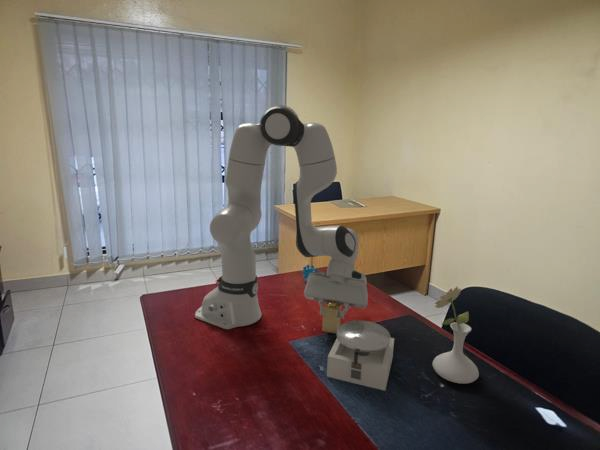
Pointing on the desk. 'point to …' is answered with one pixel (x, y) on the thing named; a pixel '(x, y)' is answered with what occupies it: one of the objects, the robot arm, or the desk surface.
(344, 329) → the scale pan
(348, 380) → the base
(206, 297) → the robot arm
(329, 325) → the brass weight
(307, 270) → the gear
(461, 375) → the flower in vase
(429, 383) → the desk surface
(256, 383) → the desk surface
